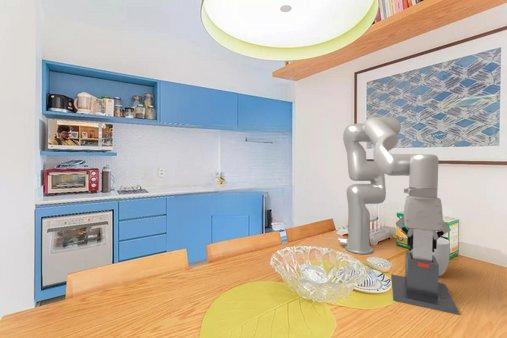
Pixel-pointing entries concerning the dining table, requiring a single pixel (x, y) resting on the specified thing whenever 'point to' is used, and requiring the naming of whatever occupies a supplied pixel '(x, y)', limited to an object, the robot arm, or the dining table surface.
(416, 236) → the post
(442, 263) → the mug
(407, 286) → the stand
